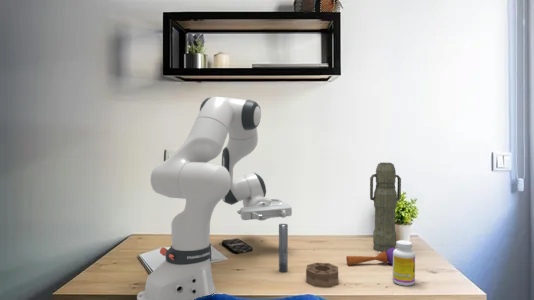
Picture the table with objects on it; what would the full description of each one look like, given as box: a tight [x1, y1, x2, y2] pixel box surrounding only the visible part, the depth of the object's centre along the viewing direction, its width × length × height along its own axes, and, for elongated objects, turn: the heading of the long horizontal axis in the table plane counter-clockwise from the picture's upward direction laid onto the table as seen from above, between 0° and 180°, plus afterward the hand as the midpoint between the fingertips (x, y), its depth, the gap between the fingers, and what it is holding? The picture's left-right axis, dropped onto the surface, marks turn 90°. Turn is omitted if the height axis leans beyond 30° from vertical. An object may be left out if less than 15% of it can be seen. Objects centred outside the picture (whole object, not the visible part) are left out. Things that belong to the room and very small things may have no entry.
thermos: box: [369, 162, 402, 253], centre depth 155 cm, size 9×12×35 cm
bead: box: [305, 262, 339, 288], centre depth 123 cm, size 10×10×4 cm
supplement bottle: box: [392, 239, 416, 287], centre depth 122 cm, size 7×7×13 cm
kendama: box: [346, 247, 397, 266], centre depth 138 cm, size 6×6×20 cm
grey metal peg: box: [278, 223, 289, 273], centre depth 132 cm, size 3×3×16 cm
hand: (272, 216), depth 143 cm, fingers open, 8 cm apart
